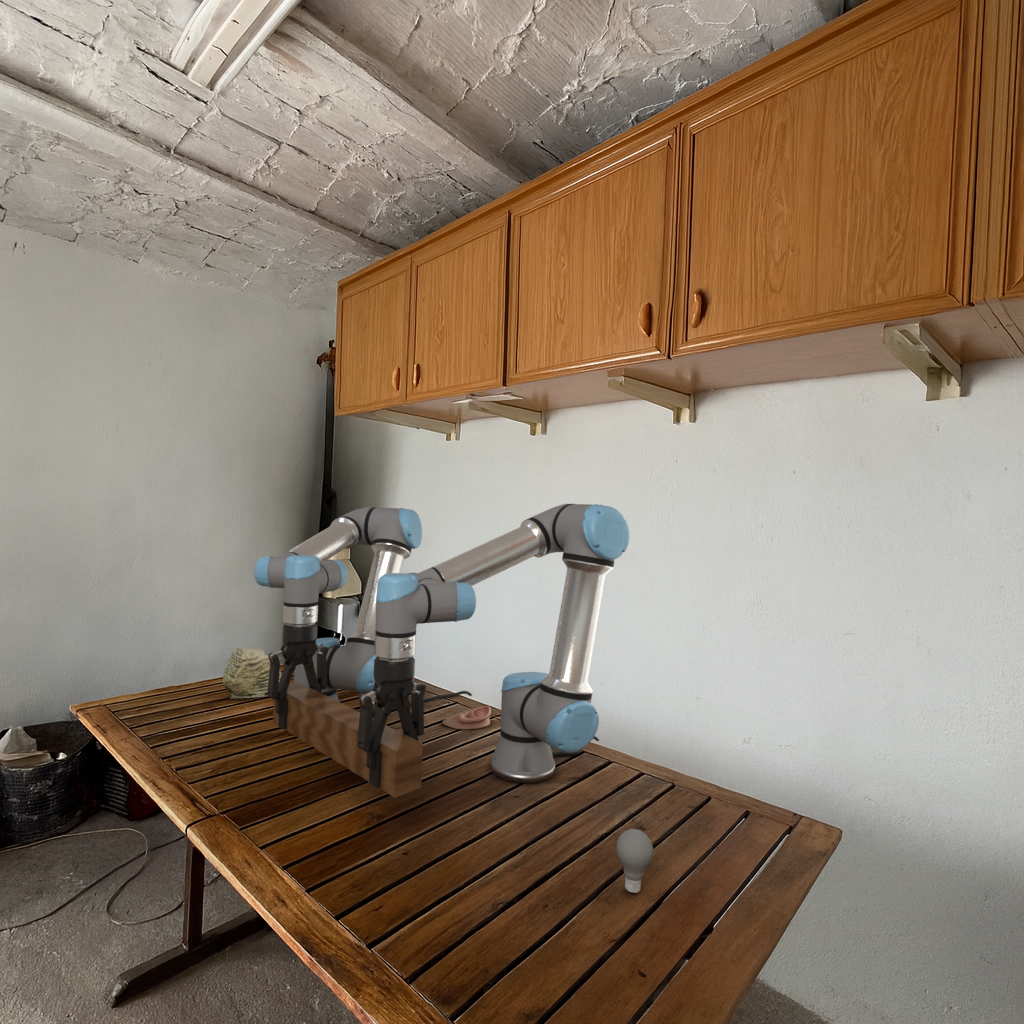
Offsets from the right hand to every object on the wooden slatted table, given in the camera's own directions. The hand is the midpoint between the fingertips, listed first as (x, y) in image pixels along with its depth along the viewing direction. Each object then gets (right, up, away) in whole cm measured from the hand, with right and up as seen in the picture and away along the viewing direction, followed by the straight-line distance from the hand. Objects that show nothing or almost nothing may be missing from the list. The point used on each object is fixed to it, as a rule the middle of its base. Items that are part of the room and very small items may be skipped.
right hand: (390, 779), depth 119 cm
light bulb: (+43, -13, -13) cm, 47 cm away
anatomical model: (+10, -10, +63) cm, 64 cm away
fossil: (-58, -7, +80) cm, 99 cm away
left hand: (-26, +2, +26) cm, 37 cm away
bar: (-13, 0, +13) cm, 19 cm away
